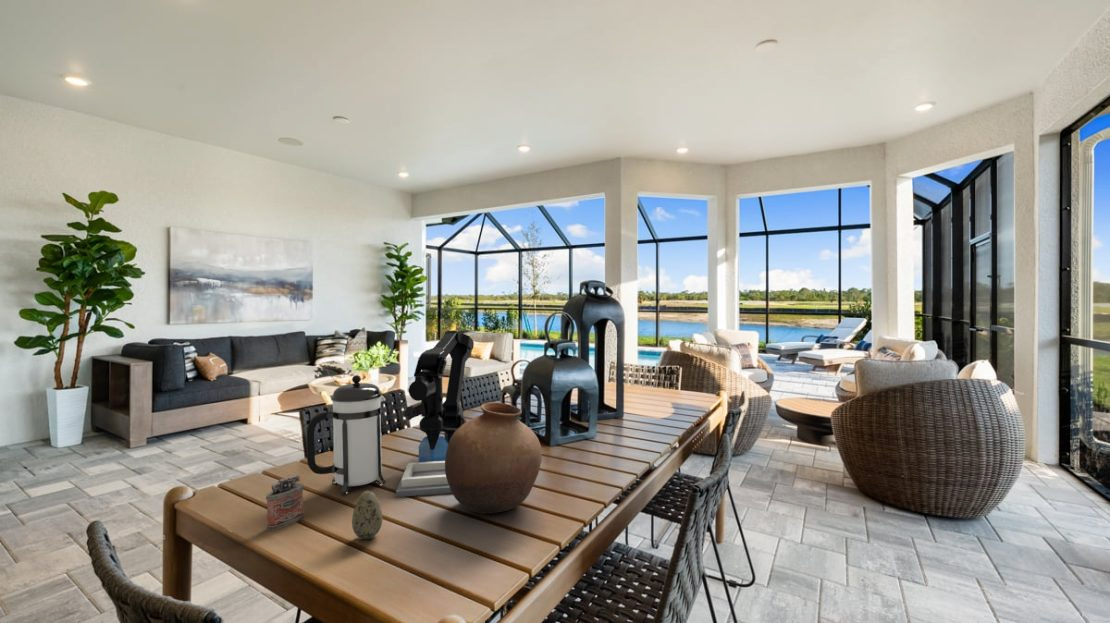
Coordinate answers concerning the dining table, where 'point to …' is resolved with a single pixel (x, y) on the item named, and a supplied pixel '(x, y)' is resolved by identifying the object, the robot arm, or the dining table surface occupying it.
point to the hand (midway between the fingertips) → (433, 444)
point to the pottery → (493, 460)
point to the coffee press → (352, 435)
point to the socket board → (423, 479)
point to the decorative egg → (367, 516)
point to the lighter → (285, 503)
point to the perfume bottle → (435, 454)
